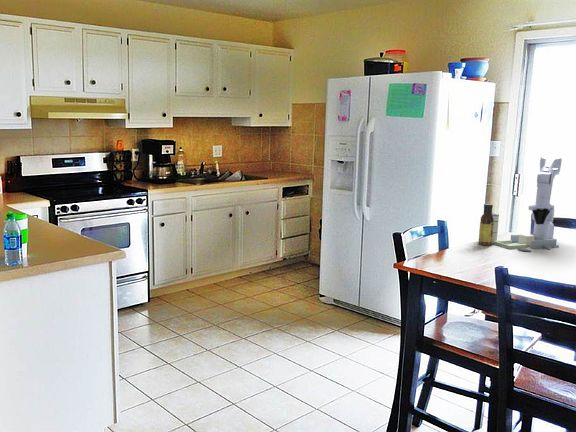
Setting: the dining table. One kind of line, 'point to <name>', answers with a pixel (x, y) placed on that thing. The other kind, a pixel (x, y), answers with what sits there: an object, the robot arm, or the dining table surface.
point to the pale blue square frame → (536, 241)
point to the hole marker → (524, 250)
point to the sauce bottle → (486, 226)
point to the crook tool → (550, 246)
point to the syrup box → (495, 226)
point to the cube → (525, 239)
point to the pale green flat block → (504, 244)
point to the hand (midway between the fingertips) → (539, 224)
